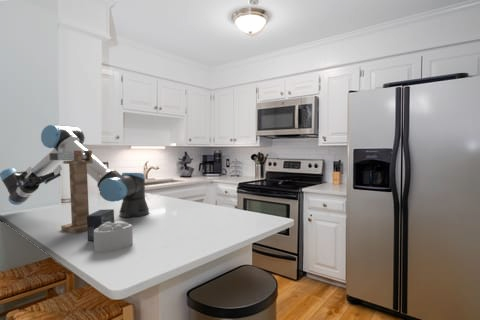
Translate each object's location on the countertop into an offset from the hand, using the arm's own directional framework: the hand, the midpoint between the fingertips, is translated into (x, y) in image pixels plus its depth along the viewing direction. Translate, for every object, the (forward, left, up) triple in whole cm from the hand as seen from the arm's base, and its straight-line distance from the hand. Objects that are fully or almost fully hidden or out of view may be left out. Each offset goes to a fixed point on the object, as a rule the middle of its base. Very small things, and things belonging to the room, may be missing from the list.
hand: (46, 168), depth 138 cm
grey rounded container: (-43, +41, -27) cm, 65 cm away
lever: (-15, +10, +4) cm, 19 cm away
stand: (-21, +15, -27) cm, 37 cm away
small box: (-35, +29, -27) cm, 53 cm away
